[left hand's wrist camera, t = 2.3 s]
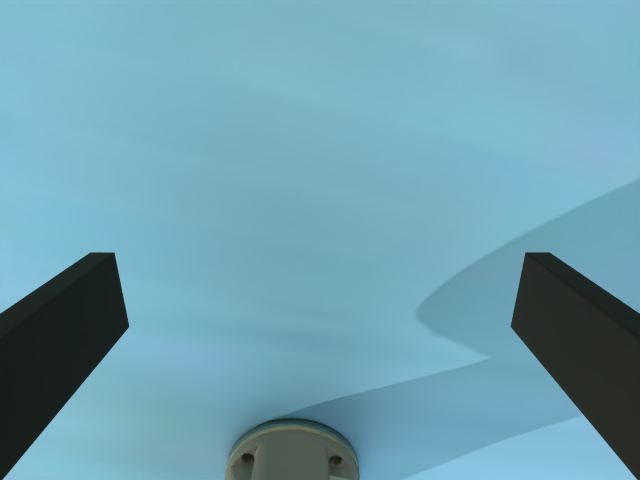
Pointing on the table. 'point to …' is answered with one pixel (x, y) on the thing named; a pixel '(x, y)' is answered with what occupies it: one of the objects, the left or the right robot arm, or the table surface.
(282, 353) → the table surface
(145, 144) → the table surface
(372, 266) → the table surface
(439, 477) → the table surface
